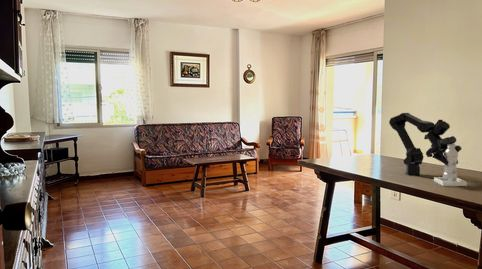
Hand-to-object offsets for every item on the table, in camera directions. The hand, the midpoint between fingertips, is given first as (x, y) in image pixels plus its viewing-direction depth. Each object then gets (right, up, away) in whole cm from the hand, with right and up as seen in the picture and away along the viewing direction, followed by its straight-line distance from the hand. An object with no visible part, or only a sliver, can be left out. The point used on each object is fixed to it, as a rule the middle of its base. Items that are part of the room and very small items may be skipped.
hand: (452, 164), depth 181 cm
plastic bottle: (0, -10, +2) cm, 10 cm away
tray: (0, -11, +2) cm, 11 cm away
